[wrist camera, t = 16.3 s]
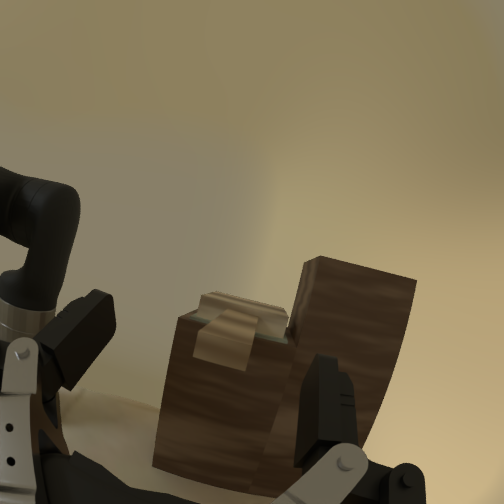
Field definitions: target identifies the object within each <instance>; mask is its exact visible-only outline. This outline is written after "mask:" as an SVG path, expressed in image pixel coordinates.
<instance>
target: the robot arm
mask: <svg viewBox="0 0 504 504" xmlns="http://www.w3.org/2000/svg"><path fill="white" fill-rule="evenodd" d="M79 218H80V198H79V195H78V193H77V191H76V190H75V189H74V188H73V187H71V186H69V185H66V184H62V183H58V182H53V181H48V180H43V179H39V178H34V177H28V176H23V175H20V174H17V173H14V172H12V171H9V170H7V169H5V168H3V167H0V235H2V236H4V237H6V238H8V239H10V240H11V241H13V242H15V243H17V244H20V245H22V246H24V247H27V248H29V250H28V254H27V257H26V260H25V263H24V266H23V267H22V268H20V269H18V270H9V271H5V272H3V273H2V274H1V276H0V504H199V503H196V502H192V501H189V500H186V499H182V498H179V497H176V496H173V495H170V494H167V493H160V492H153V491H147V490H141V489H136V488H131V487H129V486H128V485H126V484H125V483H123V482H122V481H121V480H119V479H118V478H117V477H116V476H114V475H113V474H112V473H110V472H109V471H108V470H107V469H106V468H104V467H103V466H102V465H100V464H98V463H96V462H94V461H92V460H91V459H89V458H87V457H85V456H83V455H82V454H80V453H78V452H77V451H74V453H73V454H72V456H71V455H69V450H68V447H67V444H66V442H65V439H64V437H63V432H62V424H61V414H60V401H59V392H58V390H59V389H60V387H61V386H62V387H64V388H65V389H67V390H69V391H71V390H72V389H73V388H74V386H75V385H76V384H77V382H78V381H79V380H80V378H81V377H82V376H83V374H84V373H85V372H86V370H87V369H88V368H89V367H90V365H91V364H92V363H93V361H94V360H95V359H96V358H97V356H98V355H99V354H100V353H101V351H102V350H103V349H104V347H105V346H106V345H107V344H108V342H109V341H110V340H111V339H112V337H113V336H114V333H115V330H116V318H115V311H114V301H113V297H112V295H110V294H108V293H105V292H102V291H100V290H97V289H94V290H92V291H91V292H90V293H89V294H88V295H87V296H85V297H81V298H78V299H76V300H74V301H72V302H70V303H69V304H68V305H67V306H66V307H65V308H64V309H63V311H61V312H59V313H58V314H57V317H55V312H56V304H57V298H58V295H59V292H60V290H61V287H62V285H63V282H64V278H65V273H66V268H67V264H68V260H69V256H70V253H71V249H72V246H73V243H74V239H75V235H76V232H77V228H78V224H79ZM293 468H302V476H301V478H300V479H299V480H298V481H297V482H296V483H294V484H293V485H292V486H291V487H290V488H289V489H287V490H286V491H285V492H284V493H283V494H281V495H280V496H279V497H278V498H277V499H275V500H274V501H273V502H272V503H270V504H426V491H425V479H424V475H423V473H422V471H421V470H420V469H419V468H418V467H417V466H416V465H413V464H410V463H403V464H400V465H398V466H396V467H395V468H390V467H387V466H384V465H381V464H377V463H375V462H372V461H370V460H369V459H368V458H367V456H366V454H365V453H364V451H363V450H362V449H361V448H360V447H359V444H358V431H357V418H356V408H355V398H354V386H353V383H352V381H351V379H350V377H349V376H348V374H347V373H346V372H339V370H338V359H337V357H335V356H329V355H324V354H319V353H317V354H316V355H315V357H314V359H313V361H312V363H311V365H310V367H309V369H308V371H307V373H306V375H305V377H304V380H303V382H302V386H301V390H300V399H299V412H298V424H297V435H296V446H295V456H294V465H293Z"/></svg>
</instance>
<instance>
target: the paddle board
mask: <svg viewBox="0 0 504 504" xmlns="http://www.w3.org/2000/svg"><path fill="white" fill-rule="evenodd" d="M197 317H201V318H204V319H208V320H211V322H210V323H208V324H207V325H206V326H204V327H203V328H202V329H200V330H199V331H198V335H197V340H196V344H195V349H194V353H193V357H195V358H199V359H202V360H205V361H209V362H212V363H216V364H219V365H223V366H227V367H231V368H234V369H238V370H242V371H246V367H247V363H248V359H249V356H250V352H251V348H252V344H253V339H254V335H255V332H257V333H261V334H265V335H269V336H274V337H278V338H282V339H283V337H284V333H285V330H286V326H287V322H288V318H289V317H288V315H287V313H286V311H285V310H284V308H281V307H277V306H272V305H269V304H265V303H260V302H256V301H252V300H248V299H244V298H240V297H237V296H233V295H229V294H225V293H221V292H217V291H216V292H212V293H208V294H204V295H201V299H200V303H199V307H198V311H197Z"/></svg>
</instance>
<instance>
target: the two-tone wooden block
mask: <svg viewBox="0 0 504 504" xmlns="http://www.w3.org/2000/svg"><path fill="white" fill-rule="evenodd" d="M416 283H417V280H414V279H411V278H407V277H403V276H399V275H395V274H391V273H387V272H383V271H379V270H375V269H372V268H368V267H364V266H360V265H356V264H352V263H348V262H344V261H340V260H336V259H332V258H328V257H324V256H318V257H316V258H314V259H311V260H309V261H307V262H304V265H303V270H302V273H301V278H300V282H299V286H298V290H297V294H296V298H295V302H294V306H293V310H292V314H291V317H290V321H289V326H288V327H286V330H285V333H284V337H283V339H282V338H278V337H274V336H269V335H265V334H261V333H257V332H255V335H254V339H253V344H252V348H251V352H250V356H249V359H248V363H247V367H246V371H242V370H238V369H234V368H231V367H227V366H223V365H219V364H216V363H212V362H209V361H205V360H202V359H199V358H195V357H193V353H194V349H195V344H196V340H197V335H198V331H199V330H200V329H202V328H203V327H204V326H206V325H207V324H208V323H210V322H211V320H208V319H204V318H201V317H197V311H198V309H197V310H194V311H192V312H189V313H187V314H185V315H183V316H180V317H178V321H177V326H176V331H175V335H174V340H173V344H172V350H171V354H170V359H169V365H168V370H167V375H166V380H165V386H164V391H163V397H162V403H161V409H160V415H159V421H158V428H157V434H156V441H155V448H154V455H153V463H152V466H153V467H155V468H158V469H161V470H164V471H166V472H169V473H172V474H175V475H178V476H181V477H184V478H187V479H191V480H194V481H197V482H201V483H205V484H208V485H212V486H216V487H220V488H224V489H229V490H233V491H238V492H243V493H248V494H254V495H260V496H266V497H273V498H278V497H279V496H280V495H281V494H283V493H284V492H285V491H286V490H287V489H289V488H290V487H291V486H292V485H293V484H294V483H296V482H297V481H298V480H299V479H300V478H301V476H302V468H293V465H294V456H295V446H296V435H297V424H298V412H299V399H300V390H301V386H302V382H303V380H304V377H305V375H306V373H307V371H308V369H309V367H310V365H311V363H312V361H313V359H314V357H315V355H316V354H317V353H319V354H324V355H329V356H335V357H337V359H338V370H339V372H346V373H347V374H348V376H349V377H350V379H351V381H352V383H353V386H354V398H355V408H356V418H357V431H358V444H359V447H360V448H361V449H362V448H363V446H364V443H365V441H366V439H367V437H368V435H369V433H370V430H371V428H372V426H373V424H374V421H375V419H376V416H377V414H378V411H379V409H380V407H381V404H382V401H383V399H384V396H385V393H386V391H387V388H388V385H389V382H390V380H391V377H392V374H393V371H394V368H395V365H396V362H397V358H398V355H399V352H400V348H401V345H402V342H403V338H404V334H405V331H406V327H407V323H408V319H409V315H410V311H411V307H412V302H413V298H414V293H415V288H416Z"/></svg>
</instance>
